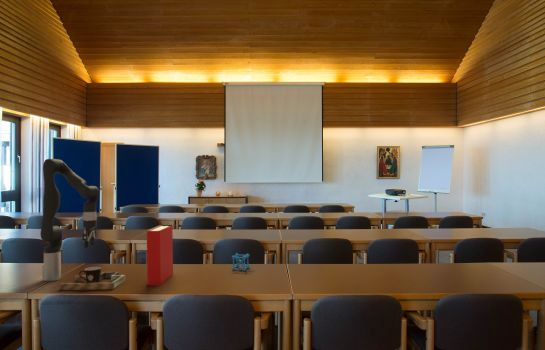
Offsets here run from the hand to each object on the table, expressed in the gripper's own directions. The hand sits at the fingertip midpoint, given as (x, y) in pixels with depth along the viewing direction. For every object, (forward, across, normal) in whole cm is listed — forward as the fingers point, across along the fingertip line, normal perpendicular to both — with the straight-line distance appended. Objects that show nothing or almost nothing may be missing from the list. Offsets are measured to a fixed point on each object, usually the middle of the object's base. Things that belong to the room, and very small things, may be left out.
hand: (89, 246), depth 247 cm
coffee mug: (+22, +5, +3) cm, 23 cm away
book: (+22, -6, +41) cm, 47 cm away
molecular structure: (+21, -29, +90) cm, 96 cm away
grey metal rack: (+22, +1, +5) cm, 23 cm away
